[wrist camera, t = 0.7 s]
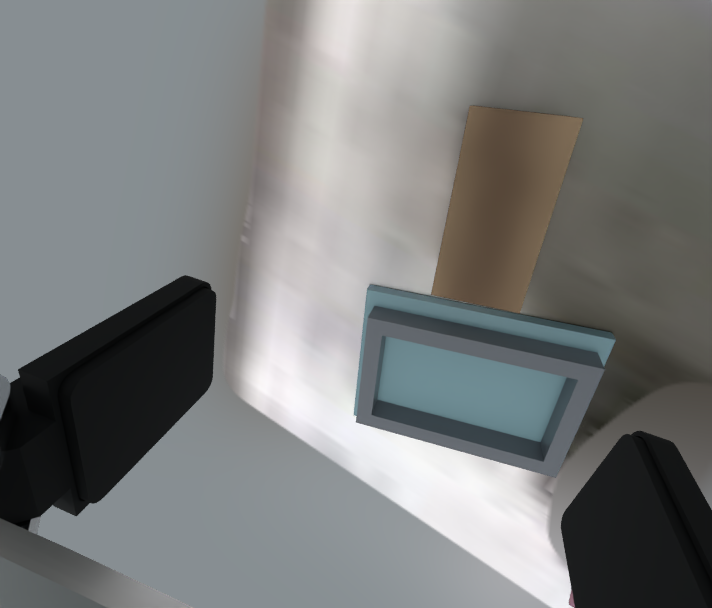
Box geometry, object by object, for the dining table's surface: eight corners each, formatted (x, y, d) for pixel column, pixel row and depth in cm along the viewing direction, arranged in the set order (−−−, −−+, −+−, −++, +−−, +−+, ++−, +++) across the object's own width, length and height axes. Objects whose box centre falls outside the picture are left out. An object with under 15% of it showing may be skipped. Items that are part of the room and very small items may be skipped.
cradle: (611, 332, 27) (624, 356, 25) (555, 461, 33) (560, 491, 31) (370, 284, 31) (359, 300, 29) (356, 407, 37) (346, 430, 34)
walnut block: (562, 115, 23) (583, 118, 18) (513, 274, 28) (519, 313, 23) (474, 105, 24) (469, 105, 19) (441, 260, 29) (431, 294, 24)
